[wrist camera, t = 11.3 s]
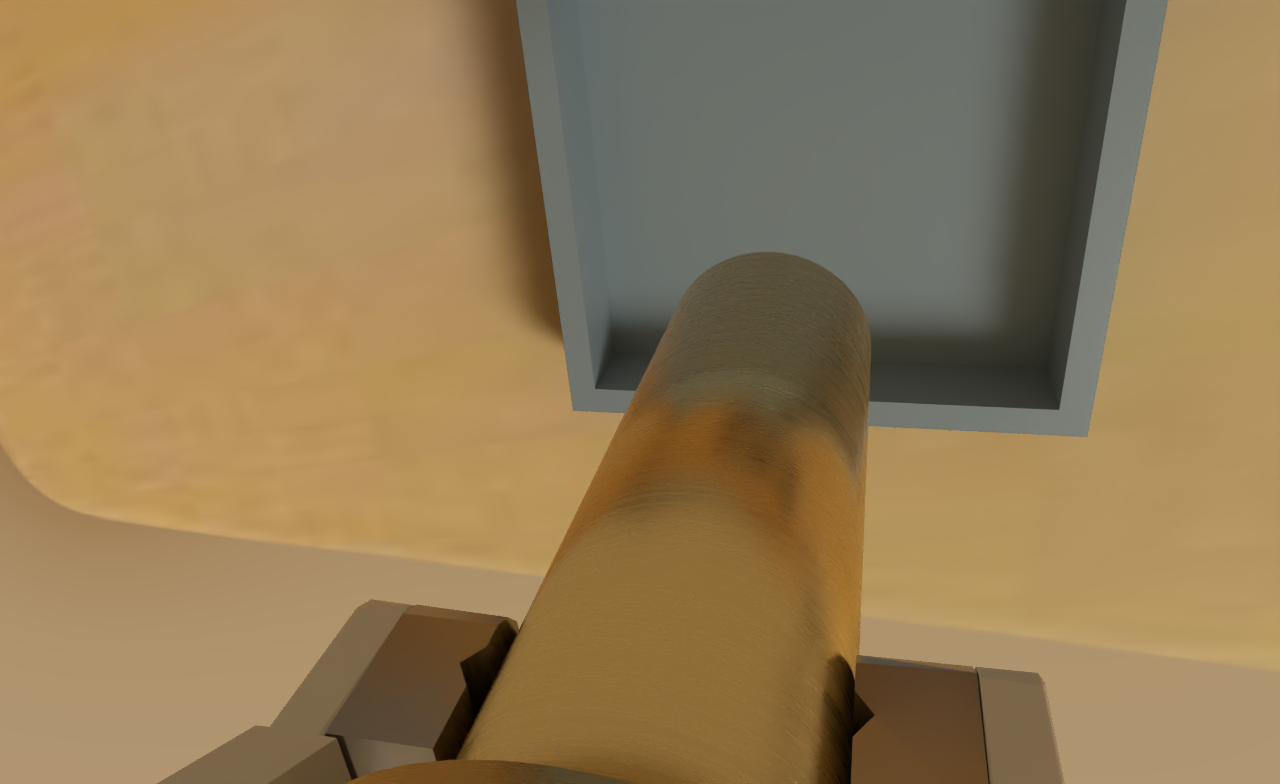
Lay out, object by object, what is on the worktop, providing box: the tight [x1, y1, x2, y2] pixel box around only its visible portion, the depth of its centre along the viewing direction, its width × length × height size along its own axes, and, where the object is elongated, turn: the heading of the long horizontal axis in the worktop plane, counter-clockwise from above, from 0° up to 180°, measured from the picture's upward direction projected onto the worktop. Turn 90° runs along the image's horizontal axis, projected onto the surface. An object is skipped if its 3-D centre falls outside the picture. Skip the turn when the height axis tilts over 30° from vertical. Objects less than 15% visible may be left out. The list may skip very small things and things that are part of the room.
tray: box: [516, 0, 1168, 437], centre depth 24 cm, size 15×15×3 cm
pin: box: [344, 252, 871, 784], centre depth 10 cm, size 5×5×11 cm
